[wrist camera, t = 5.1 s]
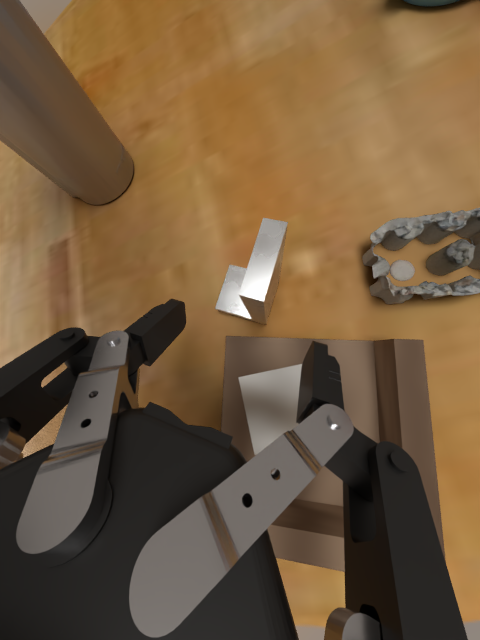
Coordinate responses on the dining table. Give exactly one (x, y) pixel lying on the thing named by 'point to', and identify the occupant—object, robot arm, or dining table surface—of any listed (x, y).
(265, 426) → the arena
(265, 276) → the bracket
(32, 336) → the dining table surface
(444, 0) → the teapot
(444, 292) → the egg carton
